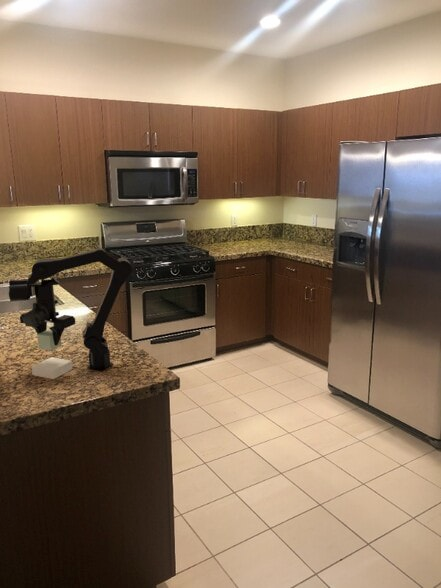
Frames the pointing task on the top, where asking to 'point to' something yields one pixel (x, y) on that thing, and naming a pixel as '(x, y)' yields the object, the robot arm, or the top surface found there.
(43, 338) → the cube
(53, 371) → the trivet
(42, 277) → the robot arm
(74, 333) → the top surface
